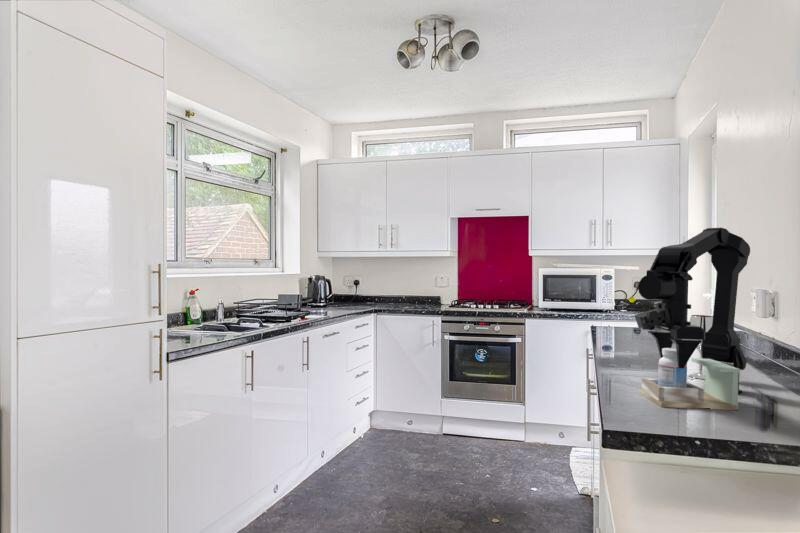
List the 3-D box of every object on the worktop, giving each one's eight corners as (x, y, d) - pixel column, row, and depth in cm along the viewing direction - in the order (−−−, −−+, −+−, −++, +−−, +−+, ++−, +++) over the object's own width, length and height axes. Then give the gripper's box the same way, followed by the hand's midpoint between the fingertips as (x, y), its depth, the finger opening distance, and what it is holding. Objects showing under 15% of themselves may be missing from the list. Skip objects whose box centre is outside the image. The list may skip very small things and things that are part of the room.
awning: (708, 395, 133) (709, 358, 133) (738, 410, 120) (739, 369, 120) (690, 395, 133) (691, 358, 133) (718, 409, 120) (719, 368, 120)
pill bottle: (681, 394, 130) (682, 348, 130) (689, 400, 124) (691, 352, 124) (654, 392, 131) (656, 346, 131) (661, 398, 125) (663, 350, 125)
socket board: (708, 395, 133) (709, 379, 133) (738, 410, 120) (739, 392, 120) (639, 392, 134) (639, 377, 134) (661, 406, 121) (661, 389, 121)
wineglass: (686, 378, 154) (688, 316, 153) (683, 373, 161) (685, 313, 161) (719, 381, 151) (721, 318, 150) (714, 376, 158) (716, 315, 158)
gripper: (625, 295, 137) (623, 356, 137) (655, 301, 118) (653, 371, 118) (670, 297, 136) (668, 357, 136) (707, 302, 118) (705, 373, 118)
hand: (672, 364), depth 127 cm, fingers open, 9 cm apart
